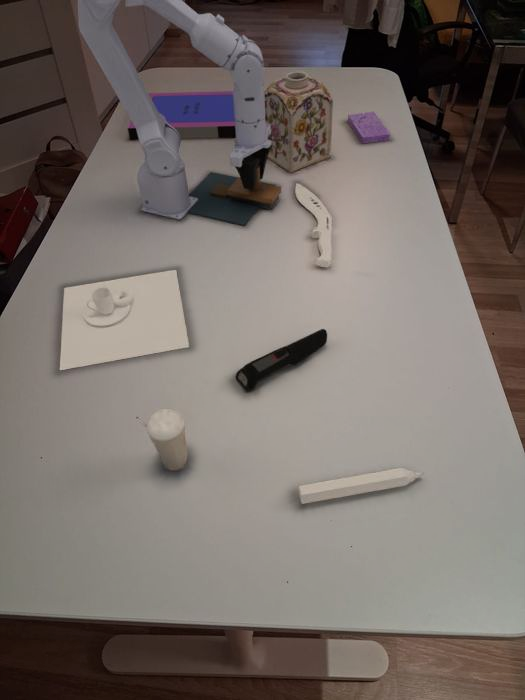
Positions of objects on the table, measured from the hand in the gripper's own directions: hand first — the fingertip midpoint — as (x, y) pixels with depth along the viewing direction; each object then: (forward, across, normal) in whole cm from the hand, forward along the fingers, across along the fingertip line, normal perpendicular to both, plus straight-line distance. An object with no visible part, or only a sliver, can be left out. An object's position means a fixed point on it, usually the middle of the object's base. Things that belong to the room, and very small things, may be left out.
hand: (253, 183), depth 110 cm
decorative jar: (+4, +21, -1) cm, 21 cm away
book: (+4, +30, +31) cm, 43 cm away
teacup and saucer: (+4, -40, +6) cm, 41 cm away
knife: (+4, -3, -14) cm, 15 cm away
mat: (+4, -1, +6) cm, 7 cm away
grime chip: (+4, 0, +8) cm, 8 cm away
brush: (+4, 0, 0) cm, 4 cm away
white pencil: (+4, -55, -40) cm, 68 cm away
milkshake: (+4, -61, -16) cm, 63 cm away
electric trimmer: (+4, -40, -23) cm, 46 cm away
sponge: (+4, +39, -13) cm, 41 cm away
